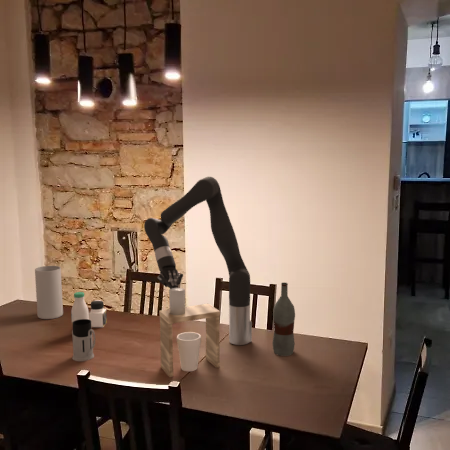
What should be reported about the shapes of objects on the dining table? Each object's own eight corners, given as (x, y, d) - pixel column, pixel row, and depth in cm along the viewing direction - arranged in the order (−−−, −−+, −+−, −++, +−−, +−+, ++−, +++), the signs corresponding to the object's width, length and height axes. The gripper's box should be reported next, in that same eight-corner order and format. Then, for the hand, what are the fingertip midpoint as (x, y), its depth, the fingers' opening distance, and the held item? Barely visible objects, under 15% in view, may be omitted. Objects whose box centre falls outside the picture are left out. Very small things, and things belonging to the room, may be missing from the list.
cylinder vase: (32, 319, 258) (30, 270, 255) (45, 311, 271) (42, 265, 267) (55, 320, 256) (53, 271, 253) (67, 312, 268) (65, 266, 265)
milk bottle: (93, 333, 237) (91, 292, 234) (80, 339, 231) (78, 296, 228) (81, 330, 241) (79, 289, 239) (68, 335, 235) (66, 293, 232)
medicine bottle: (103, 327, 246) (102, 303, 244) (88, 327, 246) (87, 303, 244) (107, 322, 253) (106, 299, 251) (92, 322, 253) (91, 299, 251)
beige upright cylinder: (181, 309, 199) (181, 287, 198) (187, 313, 194) (187, 290, 193) (167, 311, 197) (166, 289, 195) (172, 316, 191) (172, 292, 190)
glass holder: (87, 351, 217) (86, 317, 215) (105, 360, 207) (103, 325, 205) (68, 356, 211) (66, 322, 209) (85, 367, 201) (84, 330, 199)
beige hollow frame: (208, 357, 210) (208, 303, 207) (220, 367, 200) (219, 311, 197) (160, 366, 201) (159, 310, 198) (170, 377, 191) (169, 319, 188)
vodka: (267, 352, 215) (268, 283, 211) (280, 346, 222) (281, 279, 217) (286, 358, 209) (287, 287, 205) (298, 352, 216) (300, 283, 211)
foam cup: (197, 374, 195) (197, 341, 193) (174, 371, 197) (173, 339, 195) (203, 364, 204) (203, 332, 202) (181, 362, 206) (181, 331, 204)
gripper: (156, 255, 217) (167, 292, 211) (181, 254, 226) (192, 290, 219) (148, 263, 222) (158, 299, 215) (172, 262, 231) (183, 297, 224)
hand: (175, 295), depth 217 cm, fingers closed
